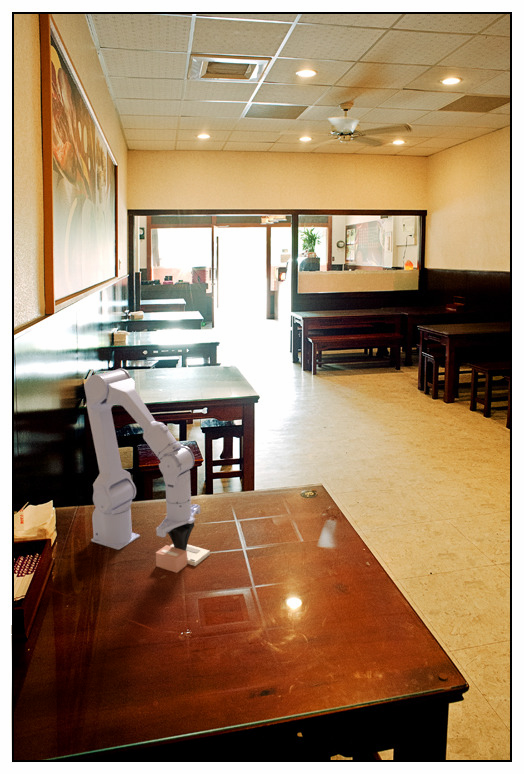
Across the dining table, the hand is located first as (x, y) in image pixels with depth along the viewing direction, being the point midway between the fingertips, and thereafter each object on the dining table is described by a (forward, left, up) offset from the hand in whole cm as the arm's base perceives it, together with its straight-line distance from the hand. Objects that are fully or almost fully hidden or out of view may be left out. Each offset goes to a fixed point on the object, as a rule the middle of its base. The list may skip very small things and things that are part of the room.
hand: (180, 551), depth 133 cm
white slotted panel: (0, +2, -2) cm, 3 cm away
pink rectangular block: (0, -3, -2) cm, 4 cm away
